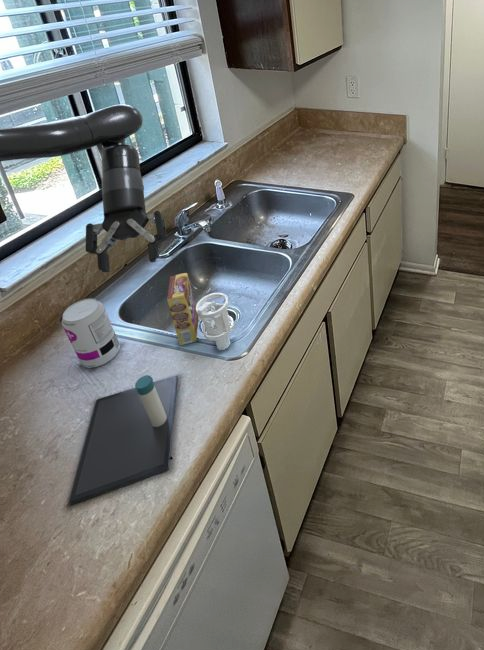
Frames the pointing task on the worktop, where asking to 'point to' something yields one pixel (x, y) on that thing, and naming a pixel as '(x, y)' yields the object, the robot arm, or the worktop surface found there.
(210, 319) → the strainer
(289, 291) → the worktop surface
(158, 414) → the teal capped white tube
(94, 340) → the supplement can
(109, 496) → the worktop surface
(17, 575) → the worktop surface
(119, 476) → the tablet
